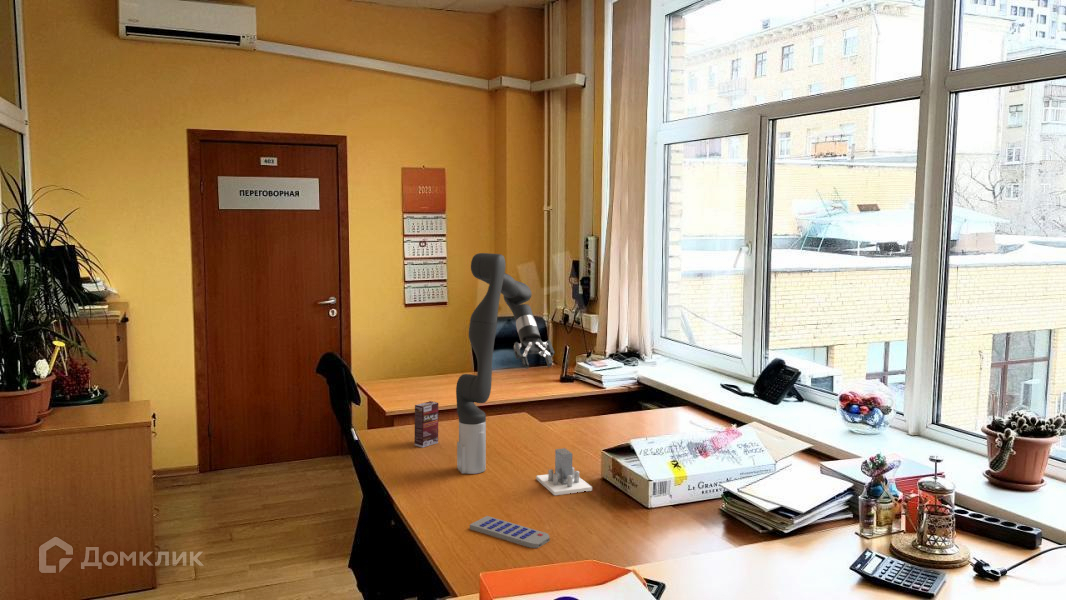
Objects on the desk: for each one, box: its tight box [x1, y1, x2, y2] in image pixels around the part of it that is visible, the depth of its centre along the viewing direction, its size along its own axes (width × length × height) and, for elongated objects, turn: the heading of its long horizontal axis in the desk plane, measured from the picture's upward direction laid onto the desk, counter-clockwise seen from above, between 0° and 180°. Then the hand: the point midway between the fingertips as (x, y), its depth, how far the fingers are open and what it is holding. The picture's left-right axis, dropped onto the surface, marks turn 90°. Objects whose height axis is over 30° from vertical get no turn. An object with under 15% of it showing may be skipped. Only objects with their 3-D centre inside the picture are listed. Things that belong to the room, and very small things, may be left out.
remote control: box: [469, 515, 550, 549], centre depth 215 cm, size 8×23×2 cm, turn 55°
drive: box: [554, 447, 573, 485], centre depth 254 cm, size 4×6×10 cm, turn 21°
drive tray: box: [535, 466, 593, 496], centre depth 254 cm, size 13×16×5 cm
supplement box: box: [414, 400, 439, 448], centre depth 296 cm, size 9×5×16 cm, turn 143°
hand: (538, 366), depth 278 cm, fingers open, 8 cm apart
